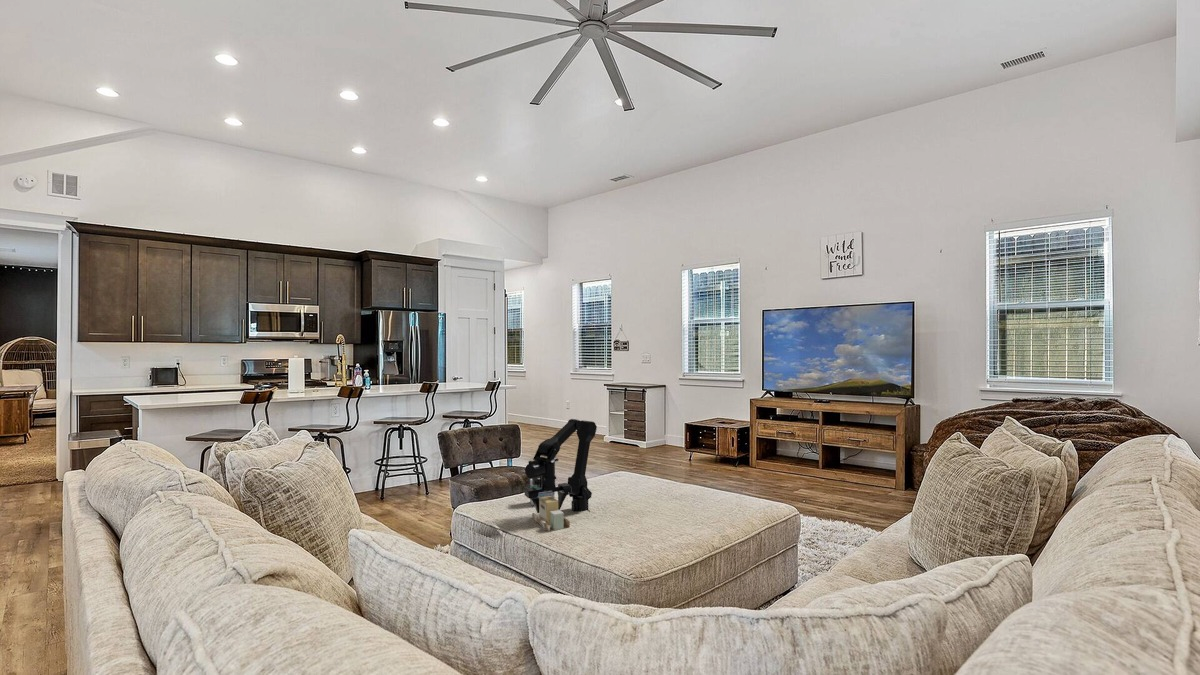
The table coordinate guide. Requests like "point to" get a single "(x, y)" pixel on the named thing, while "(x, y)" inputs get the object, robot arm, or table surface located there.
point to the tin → (556, 519)
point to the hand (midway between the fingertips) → (548, 511)
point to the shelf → (545, 525)
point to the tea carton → (547, 507)
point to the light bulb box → (541, 494)
